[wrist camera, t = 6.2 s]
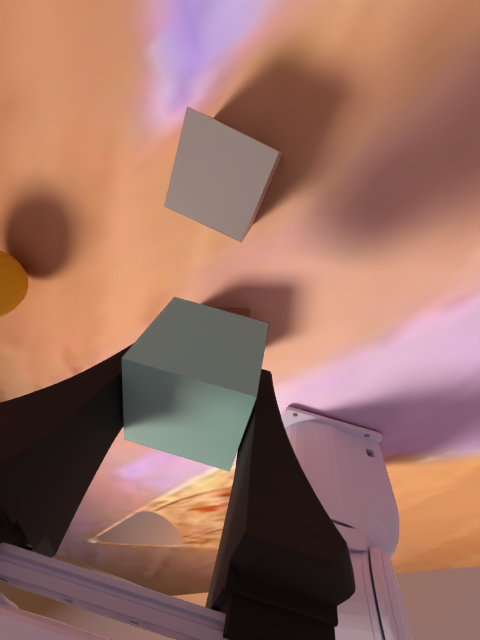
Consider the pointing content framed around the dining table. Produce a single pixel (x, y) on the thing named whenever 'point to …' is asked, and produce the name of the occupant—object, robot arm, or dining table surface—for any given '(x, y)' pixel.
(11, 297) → the lemon
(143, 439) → the teal block
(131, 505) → the dining table surface
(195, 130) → the grey block
